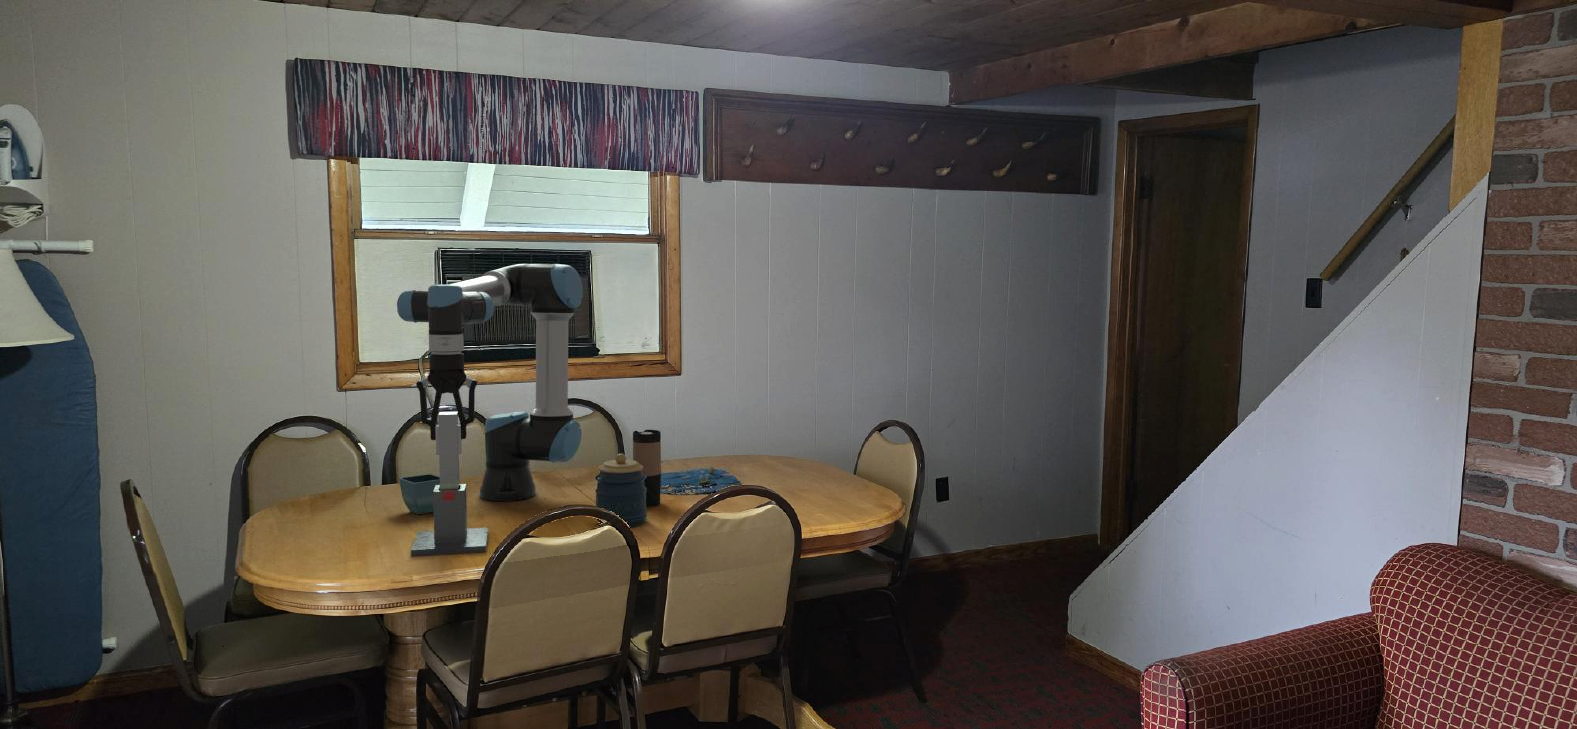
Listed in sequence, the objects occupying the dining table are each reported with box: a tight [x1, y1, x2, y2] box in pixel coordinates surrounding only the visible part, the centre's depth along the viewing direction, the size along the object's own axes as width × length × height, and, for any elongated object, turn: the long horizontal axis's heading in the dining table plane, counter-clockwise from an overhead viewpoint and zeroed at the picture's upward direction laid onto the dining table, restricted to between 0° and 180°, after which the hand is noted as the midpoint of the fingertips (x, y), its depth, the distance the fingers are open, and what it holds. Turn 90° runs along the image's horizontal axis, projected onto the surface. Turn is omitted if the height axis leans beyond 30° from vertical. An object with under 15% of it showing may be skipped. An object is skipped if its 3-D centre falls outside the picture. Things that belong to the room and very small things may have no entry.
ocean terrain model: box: [660, 466, 741, 495], centre depth 302 cm, size 30×30×5 cm
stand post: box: [437, 411, 461, 491], centre depth 235 cm, size 4×4×23 cm
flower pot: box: [398, 473, 440, 515], centre depth 266 cm, size 9×9×9 cm
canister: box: [594, 453, 648, 528], centre depth 257 cm, size 13×13×18 cm
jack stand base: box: [410, 483, 489, 558], centre depth 236 cm, size 16×16×14 cm
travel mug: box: [632, 429, 662, 508], centre depth 276 cm, size 8×8×20 cm
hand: (449, 453), depth 234 cm, fingers closed on stand post, 4 cm apart
